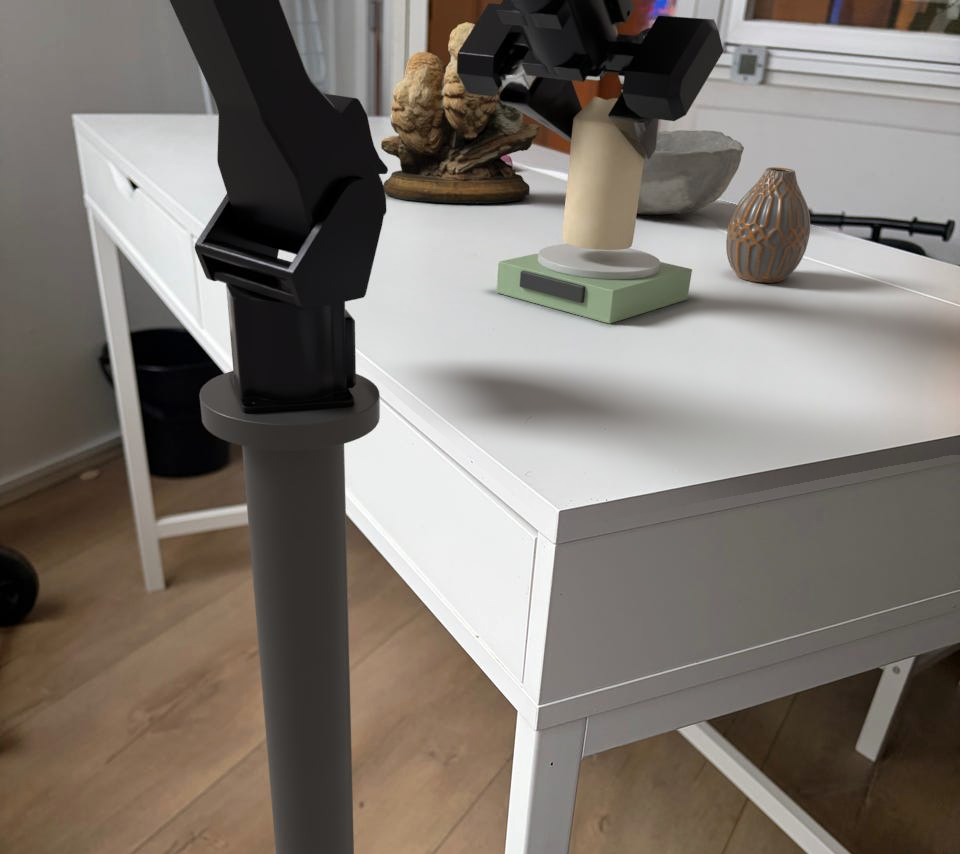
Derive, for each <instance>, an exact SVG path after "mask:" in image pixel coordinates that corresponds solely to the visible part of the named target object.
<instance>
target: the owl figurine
mask: <svg viewBox="0 0 960 854" xmlns="http://www.w3.org/2000/svg"><path fill="white" fill-rule="evenodd" d="M475 24H476V23H475ZM475 24H474V23H471V22H469V21H465V22H464V23H460V24H457V26H456V27H455V28H454V29H452V31H451V33H450V34H449V40H448V45H447V46H448V47H447V48H448V51H447V52H448V53H449V55H450V62H449V63H448V65H446V64H445V63H444V61H442V60H441V59H440V57H439V56H437V55H435V54H433V53H432V52H427V51H418V52H416V53H413V54H412V55H411V56H410V57H409V59H408V61H407V64H406V66H405V67H406V68H405V72H404V77H403V79H402V80H401V81H399V82H397V84H396V86H395V87H394V90H393V91H392V97H393V99H392V102H391V104H390V105H391V107H390V108H391V109H390V110H391V114H390V115H389V117H390V118H389V119H390V125H391V127H392V128H393V131H394V132H395V134H398V135H388V137H384V138H382V140H381V142H380V143H381V144H380V148H381V150H383V151H384V152H385V153H386V154H388V155H391V156H393V157H396V158H398V159H399V166H400V170H395V171H393V172H392V173H391V174H390V176H389V177H388V179H386V180H385V181H384V182H383V187H384V191H385V195H387V196H390V197H393V198H395V199H399V200H405V201H416V202H431V203H442V204H444V203H447V204H449V203H450V204H495V203H498V204H499V203H509V202H516V201H521V200H523V199H525V198H526V197H528V196H530V190H531V189H530V184H528V183H527V182H526V181H525V180H524V178H523V176H522V175H521V174H518V173H516V172H517V171H516V170H515V169H513V168H514V166H510V165H508V164H507V163H505V161H503V160H502V159H501V157H502V156H505V155H508V156H509V155H511V154H514V153H517V152H520V151H522V152H524V151H528V150H529V149H531V147H532V145H533V140H534V139H536V137H538V134H539V130H540V129H541V126H540V125H539V124H536V123H529V124H528V123H523V122H524V113H522V112H520V111H519V110H517V109H515V108H514V107H512V106H509V105H505V104H503V103H502V102H501V101H500V99H499V95H500V93H501V91H502V90H503V88H504V87H503V85H501V87H500V89H499V91H498V92H497V94H496V96H495V97H492V96H484V95H477V94H469V93H468V92H467V91H466V89H465V87H464V85H463V83H462V81H461V79H460V78H459V76H458V74H457V54H458V52H459V50H460V48H461V47H462V45H463V44H464V42H465V40H466V39H467V37H468V36H469V34H470V32H471V31H472V29H473V27H474V26H475Z"/></svg>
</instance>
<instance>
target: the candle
mask: <svg viewBox="0 0 960 854" xmlns="http://www.w3.org/2000/svg"><path fill="white" fill-rule="evenodd" d="M618 98H619V97H618ZM618 98H617V97H613V98H608V99H604V98H602V97H600V96H594V97H593V98H592V99H591V100H590V102H588V104H586V105H585V106H584V107H582V110H581V111H580V112H579V113H578V114H577V115H576V116H575V117H574V119H573V129H572V139H571V142H570V148H569V149H570V150H569V159H568V160H569V161H568V169H567V171H568V172H567V180H566V192H565V203H564V212H563V223H562V237H561V239H562V242H563V243H564V244H570V245H573V246H577V247H582V248H588V249H597V250H620V249H627V248H631V247H632V246H633V242H634V236H635V229H636V223H637V208H638V200H639V193H640V185H641V178H642V170H643V163H644V158H643V157H642V156H641V155H640V154H639V153H638V152H637V151H636V150H635V149H634V148H633V146H632V145H631V144H630V143H629V141H628V140H627V139H626V138H625V137H624V135H623V134H622V133H621V132H620V130H619V129H618V128H617V127H616V126H615V124H614V123H613V122H612V121H611V119H610V118H609V117H608V114H609V113H610V111H611V109H612V108H613V106H614V104H615V103H616V101H617V99H618Z"/></svg>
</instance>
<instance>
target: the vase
mask: <svg viewBox="0 0 960 854" xmlns="http://www.w3.org/2000/svg"><path fill="white" fill-rule="evenodd" d="M726 231H727V233H726V241H725V248H726V249H725V250H726V256H727V261H728V263H729V267H731V269H732V271H733V272H734V274H735V276H736V277H738V278H740V279H742V280H745V281H749V282H755V283H764V284H774V283H779V282H782V281H783V280H785V279H787V277H789V276H790V275H791V274H792V273H794V271H795V270H796V269H797V267H798V266H799V265H800V263H801V261H802V259H803V257H804V255H805V253H806V251H807V247H808V244H809V240H810V235H811V214H810V210H809V206H808V203H807V201H806V199H805V196H804V195H803V192H802V190H801V188H800V185H799V183H798V180H797V173H796V171H795V170H794V169H792V168H786V167H778V166H777V167H773V166H772V167H767V168H766V169H764V172H763V174H762V175H761V176H760V178H759V180H758V181H757V182H756V183H755V184H754V185H753V186H752V187H751V188H750V189H749V190H748V191H747V192H746V194H744V196H743V197H742V198H741V199H740V200H739V202H738V203H737V204H736V207H735V209H734V210H733V212H732V215H731V217H730V220H729V223H728V227H727V230H726Z"/></svg>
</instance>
